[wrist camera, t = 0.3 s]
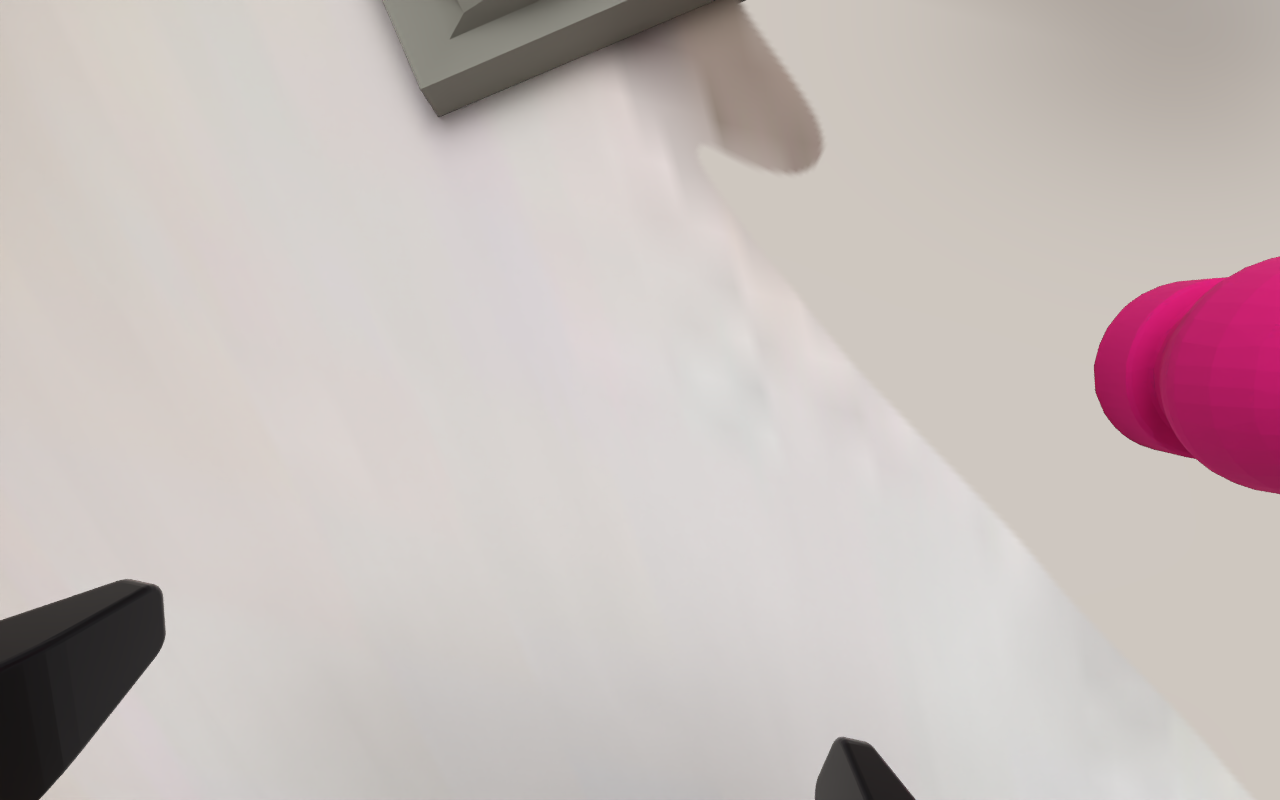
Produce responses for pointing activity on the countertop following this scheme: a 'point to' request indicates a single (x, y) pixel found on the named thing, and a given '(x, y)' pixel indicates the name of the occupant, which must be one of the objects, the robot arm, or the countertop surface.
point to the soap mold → (510, 39)
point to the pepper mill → (1201, 373)
